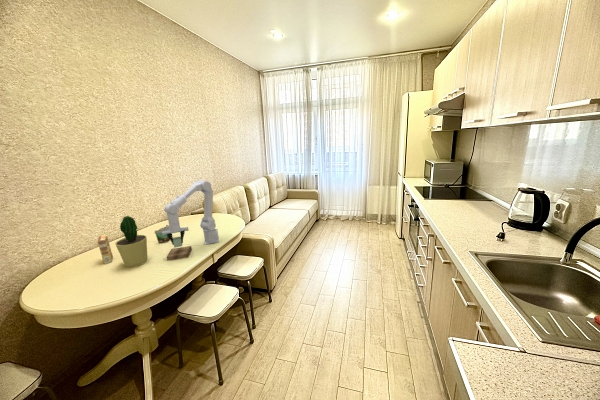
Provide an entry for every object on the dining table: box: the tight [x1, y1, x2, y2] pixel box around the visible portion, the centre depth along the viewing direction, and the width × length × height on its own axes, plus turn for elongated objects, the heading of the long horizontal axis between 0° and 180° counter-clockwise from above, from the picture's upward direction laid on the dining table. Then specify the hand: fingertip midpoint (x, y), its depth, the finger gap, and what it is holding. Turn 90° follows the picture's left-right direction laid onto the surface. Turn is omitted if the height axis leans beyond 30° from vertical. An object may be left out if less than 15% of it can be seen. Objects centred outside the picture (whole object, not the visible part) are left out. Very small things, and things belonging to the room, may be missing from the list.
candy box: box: [97, 234, 114, 265], centre depth 147 cm, size 9×4×15 cm, turn 35°
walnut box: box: [166, 245, 192, 261], centre depth 152 cm, size 12×12×3 cm
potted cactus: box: [114, 215, 148, 268], centre depth 141 cm, size 15×15×30 cm
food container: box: [154, 224, 171, 244], centre depth 175 cm, size 12×6×10 cm, turn 168°
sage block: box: [172, 235, 183, 248], centre depth 150 cm, size 4×4×5 cm
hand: (177, 243), depth 150 cm, fingers closed on sage block, 4 cm apart
